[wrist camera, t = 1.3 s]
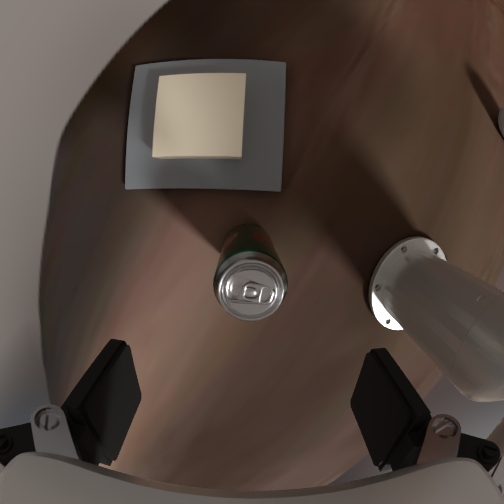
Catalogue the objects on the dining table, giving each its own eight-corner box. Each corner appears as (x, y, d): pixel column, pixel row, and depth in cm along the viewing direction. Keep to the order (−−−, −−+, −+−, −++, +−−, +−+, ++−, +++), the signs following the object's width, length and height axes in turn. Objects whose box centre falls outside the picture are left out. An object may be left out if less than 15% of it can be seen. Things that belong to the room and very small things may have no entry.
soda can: (228, 218, 28) (219, 246, 17) (276, 228, 29) (299, 263, 17) (219, 264, 29) (206, 318, 18) (265, 273, 30) (279, 331, 18)
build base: (284, 66, 24) (290, 50, 20) (279, 191, 28) (285, 193, 24) (139, 69, 23) (125, 55, 19) (129, 188, 27) (112, 191, 23)
